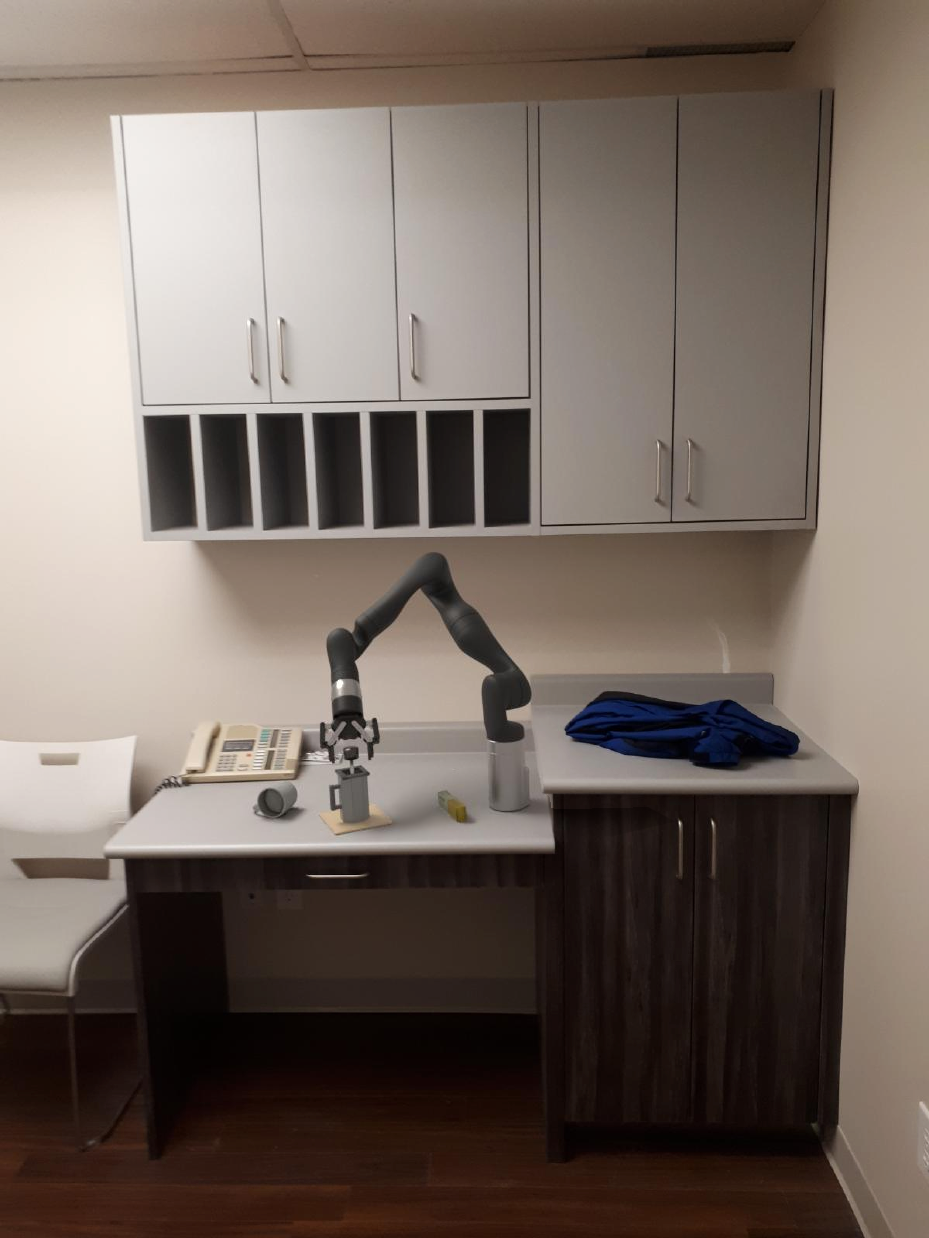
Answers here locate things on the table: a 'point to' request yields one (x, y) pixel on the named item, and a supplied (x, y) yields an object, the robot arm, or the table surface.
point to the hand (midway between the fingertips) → (351, 760)
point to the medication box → (452, 806)
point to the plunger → (351, 756)
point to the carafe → (352, 804)
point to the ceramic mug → (276, 799)
